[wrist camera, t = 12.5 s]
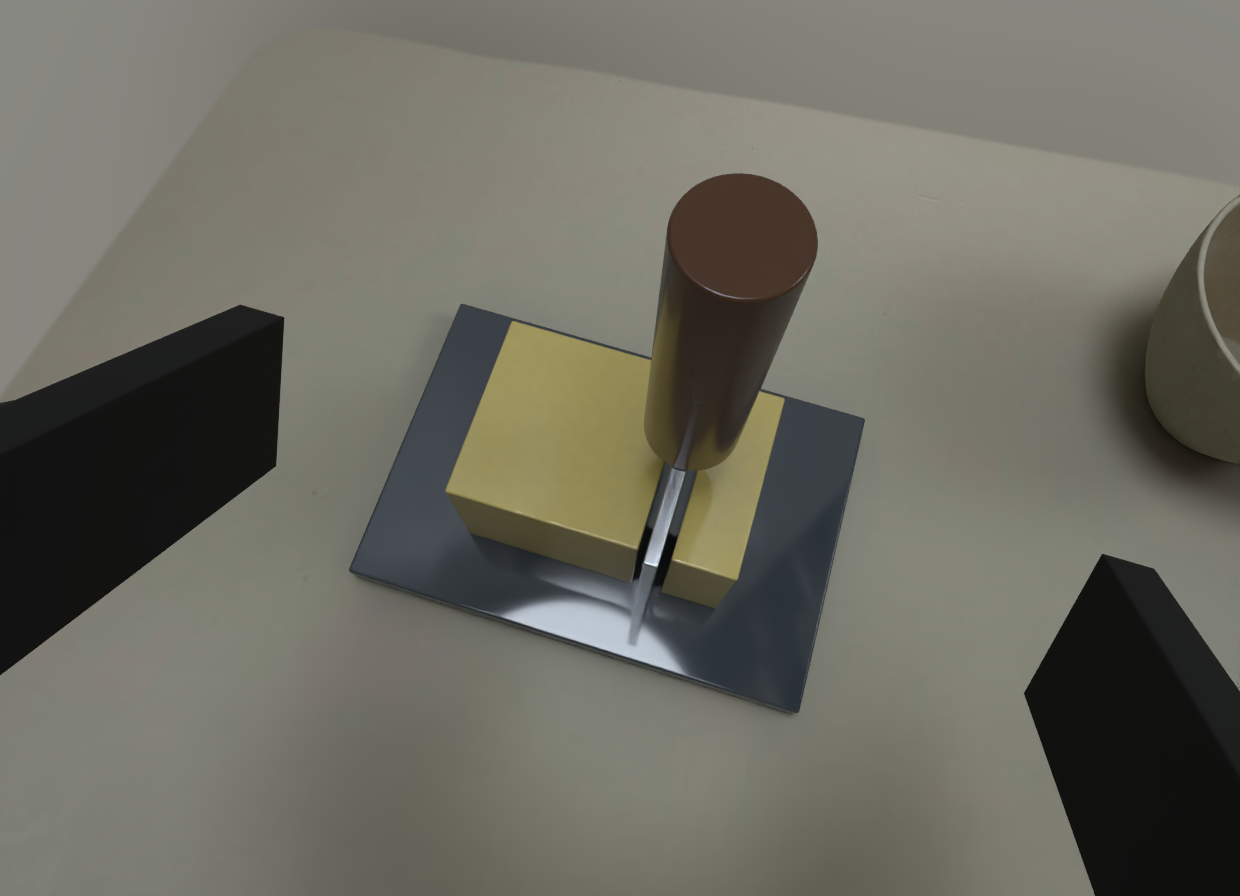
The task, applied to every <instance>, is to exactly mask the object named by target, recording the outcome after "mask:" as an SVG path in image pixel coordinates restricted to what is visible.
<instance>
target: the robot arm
mask: <svg viewBox="0 0 1240 896" xmlns="http://www.w3.org/2000/svg"><path fill="white" fill-rule="evenodd" d="M283 330H284V317H281V316H277V315H274V314H271V313H267V312H264V311H260V310H257V309H253V308H250V307H246V306H243V305H238V306H236V307H234V308H231V309H229V310H227V311H224V312H222V313H220V314H217V315H215V316H212V317H210V318H208V319H205V320H203V321H201V322H198V323H196V324H194V325H191V326H189V327H187V328H184V329H182V330H179V331H177V332H175V333H172V334H170V335H168V336H165V337H163V338H161V339H158V340H156V341H154V342H151V343H149V344H146V345H144V346H142V347H139V348H137V349H135V350H132V351H130V352H128V353H125V354H123V355H120V356H118V357H116V358H113V359H111V360H109V361H106V362H104V363H102V364H99V365H97V366H95V367H92V368H90V369H87V370H85V371H83V372H80V373H78V374H76V375H73V376H71V377H69V378H66V379H64V380H61V381H59V382H57V383H54V384H52V385H50V386H47V387H45V388H43V389H40V390H38V391H36V392H33V393H31V394H28V395H26V396H24V397H21V398H19V399H17V400H13V401H8V402H3V403H0V675H1V674H2V673H4V672H5V671H6V670H8V669H9V668H10V667H12V666H13V665H14V664H16V663H17V662H18V661H20V660H21V659H22V658H24V657H25V656H26V655H28V654H29V653H30V652H31V651H33V650H34V649H35V648H37V647H38V646H39V645H41V644H42V643H43V642H45V641H46V640H47V639H49V638H50V637H51V636H53V635H54V634H55V633H57V632H58V631H59V630H60V629H62V628H63V627H64V626H66V625H67V624H68V623H70V622H71V621H72V620H74V619H75V618H76V617H78V616H79V615H80V614H82V613H83V612H84V611H86V610H87V609H88V608H89V607H91V606H92V605H93V604H95V603H96V602H97V601H99V600H100V599H101V598H103V597H104V596H105V595H107V594H108V593H109V592H111V591H112V590H113V589H115V588H116V587H117V586H118V585H120V584H121V583H122V582H124V581H125V580H126V579H128V578H129V577H130V576H132V575H133V574H134V573H136V572H137V571H138V570H140V569H141V568H142V567H144V566H145V565H146V564H147V563H149V562H150V561H151V560H153V559H154V558H155V557H157V556H158V555H159V554H161V553H162V552H163V551H165V550H166V549H167V548H169V547H170V546H171V545H173V544H174V543H175V542H176V541H178V540H179V539H180V538H182V537H183V536H184V535H186V534H187V533H188V532H190V531H191V530H192V529H194V528H195V527H196V526H198V525H199V524H200V523H202V522H203V521H204V520H206V519H207V518H208V517H209V516H211V515H212V514H213V513H215V512H216V511H217V510H219V509H220V508H221V507H223V506H224V505H225V504H227V503H228V502H229V501H231V500H232V499H233V498H235V497H236V496H237V495H238V494H240V493H241V492H242V491H244V490H245V489H246V488H248V487H249V486H250V485H252V484H253V483H254V482H256V481H257V480H258V479H260V478H261V477H262V476H264V475H265V474H266V473H267V472H269V471H270V470H271V469H273V468H274V467H275V466H276V458H277V440H278V421H279V403H280V385H281V367H282V349H283ZM1024 695H1025V698H1026V700H1027V703H1028V706H1029V709H1030V712H1031V715H1032V717H1033V720H1034V723H1035V726H1036V729H1037V732H1038V734H1039V737H1040V740H1041V743H1042V746H1043V749H1044V752H1045V754H1046V757H1047V760H1048V763H1049V766H1050V769H1051V771H1052V774H1053V777H1054V780H1055V783H1056V786H1057V788H1058V791H1059V794H1060V797H1061V800H1062V803H1063V806H1064V808H1065V811H1066V814H1067V817H1068V820H1069V823H1070V825H1071V828H1072V831H1073V834H1074V837H1075V840H1076V842H1077V845H1078V848H1079V851H1080V854H1081V857H1082V860H1083V862H1084V865H1085V868H1086V871H1087V874H1088V877H1089V879H1090V882H1091V885H1092V888H1093V891H1094V894H1095V896H1240V691H1239V690H1238V688H1237V687H1236V685H1235V684H1234V683H1233V681H1232V680H1231V678H1230V677H1229V675H1228V674H1227V673H1226V671H1225V670H1224V668H1223V667H1222V665H1221V664H1220V663H1219V661H1218V660H1217V658H1216V657H1215V655H1214V654H1213V652H1212V651H1211V650H1210V648H1209V647H1208V645H1207V644H1206V642H1205V641H1204V640H1203V638H1202V637H1201V635H1200V634H1199V632H1198V631H1197V630H1196V628H1195V627H1194V625H1193V624H1192V622H1191V621H1190V620H1189V618H1188V617H1187V615H1186V614H1185V612H1184V611H1183V609H1182V608H1181V607H1180V605H1179V604H1178V602H1177V601H1176V599H1175V598H1174V597H1173V595H1172V594H1171V592H1170V591H1169V589H1168V588H1167V587H1166V585H1165V584H1164V582H1163V581H1162V579H1161V578H1160V577H1159V575H1158V574H1157V572H1156V571H1155V569H1153V568H1150V567H1146V566H1143V565H1139V564H1136V563H1132V562H1129V561H1125V560H1122V559H1118V558H1115V557H1111V556H1108V555H1105V554H1102V555H1101V557H1100V559H1099V561H1098V562H1097V564H1096V566H1095V568H1094V569H1093V571H1092V573H1091V575H1090V577H1089V578H1088V580H1087V582H1086V584H1085V586H1084V587H1083V589H1082V591H1081V593H1080V594H1079V596H1078V598H1077V600H1076V602H1075V603H1074V605H1073V607H1072V609H1071V610H1070V612H1069V614H1068V616H1067V618H1066V619H1065V621H1064V623H1063V625H1062V627H1061V628H1060V630H1059V632H1058V634H1057V635H1056V637H1055V639H1054V641H1053V643H1052V644H1051V646H1050V648H1049V650H1048V651H1047V653H1046V655H1045V657H1044V659H1043V660H1042V662H1041V664H1040V666H1039V668H1038V669H1037V671H1036V673H1035V675H1034V676H1033V678H1032V680H1031V682H1030V684H1029V685H1028V687H1027V689H1026V691H1025V692H1024Z"/></svg>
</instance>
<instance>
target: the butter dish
mask: <svg viewBox="0 0 1240 896" xmlns="http://www.w3.org/2000/svg"><path fill="white" fill-rule="evenodd" d="M650 367H651V358H650V357H647V356H643V355H640V354H636V353H633V352H629V351H626V350H622V349H619V348H615V347H612V346H608V345H605V344H601V343H598V342H594V341H591V340H587V339H584V338H580V337H577V336H573V335H570V334H566V333H563V332H559V331H556V330H552V329H549V328H545V327H542V326H538V325H535V324H531V323H528V322H524V321H521V320H517V319H514V318H510V317H507V316H503V315H500V314H496V313H493V312H489V311H486V310H482V309H479V308H475V307H472V306H468V305H465V304H461V305H460V307H459V309H458V311H457V314H456V316H455V319H454V321H453V323H452V326H451V328H450V331H449V333H448V335H447V338H446V340H445V342H444V345H443V347H442V350H441V352H440V354H439V357H438V359H437V361H436V364H435V366H434V369H433V371H432V373H431V376H430V378H429V380H428V383H427V385H426V388H425V390H424V392H423V395H422V397H421V399H420V402H419V404H418V407H417V409H416V411H415V414H414V416H413V419H412V421H411V423H410V426H409V428H408V430H407V433H406V435H405V438H404V440H403V442H402V445H401V447H400V449H399V452H398V454H397V457H396V459H395V461H394V464H393V466H392V468H391V471H390V473H389V476H388V478H387V480H386V483H385V485H384V487H383V490H382V492H381V495H380V497H379V499H378V502H377V504H376V506H375V509H374V511H373V514H372V516H371V518H370V521H369V523H368V526H367V528H366V530H365V533H364V535H363V537H362V540H361V542H360V545H359V547H358V549H357V552H356V554H355V556H354V559H353V561H352V564H351V566H350V568H349V571H350V572H351V573H352V574H353V575H355V576H356V577H358V578H361V579H365V580H368V581H371V582H374V583H377V584H380V585H384V586H387V587H390V588H393V589H396V590H399V591H403V592H406V593H409V594H412V595H415V596H418V597H422V598H425V599H428V600H431V601H434V602H437V603H440V604H444V605H447V606H450V607H453V608H456V609H459V610H463V611H466V612H469V613H472V614H475V615H478V616H482V617H485V618H488V619H491V620H494V621H497V622H501V623H504V624H507V625H510V626H513V627H516V628H519V629H523V630H526V631H529V632H532V633H535V634H538V635H542V636H545V637H548V638H551V639H554V640H557V641H561V642H564V643H567V644H570V645H573V646H576V647H580V648H583V649H586V650H589V651H592V652H595V653H599V654H602V655H605V656H608V657H611V658H614V659H617V660H621V661H624V662H627V663H630V664H633V665H636V666H640V667H643V668H646V669H649V670H652V671H655V672H659V673H662V674H665V675H668V676H671V677H674V678H678V679H681V680H684V681H687V682H690V683H693V684H697V685H700V686H703V687H706V688H709V689H712V690H715V691H719V692H722V693H725V694H728V695H731V696H734V697H738V698H741V699H744V700H747V701H750V702H753V703H757V704H760V705H763V706H766V707H769V708H772V709H776V710H779V711H782V712H785V713H788V714H796V713H798V712H799V710H800V706H801V701H802V697H803V692H804V688H805V684H806V679H807V675H808V670H809V666H810V661H811V657H812V653H813V648H814V644H815V639H816V635H817V630H818V626H819V621H820V617H821V613H822V608H823V604H824V599H825V595H826V590H827V586H828V582H829V577H830V573H831V568H832V564H833V559H834V555H835V550H836V546H837V542H838V537H839V533H840V528H841V524H842V519H843V515H844V511H845V506H846V502H847V497H848V493H849V488H850V484H851V479H852V475H853V471H854V466H855V462H856V457H857V453H858V448H859V444H860V440H861V435H862V431H863V426H864V422H865V420H864V418H861V417H857V416H854V415H850V414H847V413H843V412H840V411H836V410H833V409H829V408H826V407H822V406H819V405H815V404H812V403H808V402H805V401H801V400H798V399H794V398H791V397H787V396H784V395H780V394H777V393H773V392H770V391H766V390H763V389H760V391H759V394H758V396H757V398H756V401H755V403H754V406H753V408H752V410H751V413H750V415H749V417H748V420H747V422H746V424H745V427H744V429H743V431H742V434H741V436H740V438H739V441H738V443H737V445H736V447H735V449H734V450H733V452H732V453H731V455H730V456H729V457H728V458H727V459H725V460H724V461H723V462H722V463H720V464H718V465H717V466H714V467H712V468H709V469H705V470H699V471H689V470H687V472H686V475H685V479H684V482H683V485H682V489H681V492H680V495H679V499H678V502H677V506H676V509H675V512H674V516H673V519H672V523H671V526H670V529H669V533H668V536H667V539H666V543H665V546H664V550H663V553H662V556H661V560H660V563H659V566H658V570H657V573H656V577H655V580H654V583H653V587H652V590H651V594H650V597H649V600H648V604H647V607H646V610H645V614H644V616H643V617H641V616H638V615H635V614H633V608H634V603H635V598H636V594H637V589H638V584H639V579H640V574H641V569H642V564H643V560H644V557H645V554H646V550H647V547H648V544H649V540H650V537H651V534H652V531H653V527H654V524H655V521H656V517H657V514H658V511H659V507H660V504H661V501H662V497H663V494H664V491H665V488H666V484H667V481H668V478H669V474H670V471H671V468H672V466H671V465H669V464H667V463H666V462H664V461H663V460H661V459H660V458H659V457H658V456H657V455H656V454H655V453H654V452H653V450H652V449H651V447H650V446H649V444H648V441H647V439H646V436H645V432H644V416H645V407H646V399H647V391H648V383H649V375H650Z"/></svg>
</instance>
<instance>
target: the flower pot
mask: <svg viewBox="0 0 1240 896" xmlns="http://www.w3.org/2000/svg"><path fill="white" fill-rule="evenodd" d="M1145 385H1146V394H1147V398H1148V402H1149V404H1150V407H1151V409H1152V411H1153V413H1154V415H1155V416H1156V418H1157V419H1158V421H1159V422H1160V424H1161V425H1162V426H1163V427H1164V429H1165V430H1166V431H1167V432H1168V433H1169V434H1170V435H1172V436H1173V437H1174V438H1175V439H1177V440H1178V441H1179V442H1180V443H1182V444H1183V445H1185V446H1187V447H1189V448H1190V449H1192V450H1195V451H1197V452H1199V453H1202V454H1204V455H1207V456H1210V457H1213V458H1216V459H1220V460H1223V461H1227V462H1231V463H1235V464H1240V195H1239V196H1237V197H1236V198H1235V199H1233V200H1232V201H1231V202H1229V203H1228V204H1227V205H1226V206H1225V207H1224V208H1223V209H1222V210H1221V211H1220V212H1219V213H1218V214H1217V215H1216V217H1215V218H1214V219H1213V220H1212V221H1211V222H1210V224H1209V225H1208V226H1207V227H1206V228H1205V230H1204V231H1203V232H1202V233H1201V234H1200V236H1199V237H1198V239H1197V240H1196V241H1195V243H1194V244H1193V245H1192V247H1191V248H1190V250H1189V251H1188V253H1187V254H1186V256H1185V257H1184V259H1183V260H1182V262H1181V264H1180V265H1179V267H1178V268H1177V270H1176V272H1175V274H1174V275H1173V277H1172V279H1171V281H1170V283H1169V285H1168V287H1167V289H1166V291H1165V293H1164V295H1163V297H1162V299H1161V301H1160V304H1159V306H1158V309H1157V312H1156V315H1155V317H1154V320H1153V324H1152V327H1151V331H1150V335H1149V340H1148V345H1147V351H1146V362H1145Z"/></svg>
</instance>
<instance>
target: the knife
mask: <svg viewBox="0 0 1240 896" xmlns="http://www.w3.org/2000/svg"><path fill="white" fill-rule="evenodd" d="M817 249H818V238H817V231H816V228H815V224H814V221H813V219H812V217H811V214H810V213H809V211H808V209H807V208H806V206H805V205H804V204H803V203H802V201H801V200H800V199H799V198H798V197H797V196H796V195H795V194H794V193H792V192H791V191H790V190H789V189H787V188H786V187H784V186H782V185H781V184H779V183H777V182H775V181H773V180H770V179H767V178H764V177H761V176H757V175H752V174H742V173H741V174H725V175H720V176H716V177H713V178H710V179H707V180H705V181H703V182H701V183H699V184H697V185H696V186H694V187H693V188H692V189H690V190H689V191H688V192H687V193H686V194H685V195H684V196H683V197H682V198H681V199H680V200H679V202H678V203H677V204H676V206H675V208H674V209H673V211H672V214H671V216H670V219H669V223H668V227H667V236H666V244H665V252H664V260H663V268H662V277H661V285H660V293H659V301H658V309H657V317H656V326H655V334H654V342H653V350H652V358H651V367H650V375H649V383H648V391H647V399H646V407H645V416H644V432H645V436H646V439H647V441H648V444H649V446H650V447H651V449H652V450H653V452H654V453H655V454H656V455H657V456H658V457H659V458H660V459H661V460H663V461H664V462H666V463H667V464H669V465H671V466H672V468H671V471H670V474H669V478H668V481H667V484H666V488H665V491H664V494H663V497H662V501H661V504H660V507H659V511H658V514H657V517H656V521H655V524H654V527H653V531H652V534H651V537H650V540H649V544H648V547H647V550H646V554H645V557H644V560H643V564H642V569H641V574H640V579H639V584H638V589H637V594H636V598H635V603H634V608H633V614H635V615H638V616H641V617H643V616H644V614H645V610H646V607H647V604H648V600H649V597H650V594H651V590H652V587H653V583H654V580H655V577H656V573H657V570H658V566H659V563H660V560H661V556H662V553H663V550H664V546H665V543H666V539H667V536H668V533H669V529H670V526H671V523H672V519H673V516H674V512H675V509H676V506H677V502H678V499H679V495H680V492H681V489H682V485H683V482H684V479H685V475H686V472H687V470H689V471H699V470H705V469H709V468H712V467H714V466H717V465H718V464H720V463H722V462H723V461H724V460H725V459H727V458H728V457H729V456H730V455H731V453H732V452H733V450H734V449H735V447H736V445H737V443H738V441H739V438H740V436H741V434H742V431H743V429H744V427H745V424H746V422H747V420H748V417H749V415H750V413H751V410H752V408H753V406H754V403H755V401H756V398H757V396H758V394H759V391H760V389H761V387H762V384H763V382H764V380H765V377H766V375H767V373H768V370H769V368H770V366H771V363H772V361H773V359H774V356H775V354H776V351H777V349H778V347H779V344H780V342H781V340H782V337H783V335H784V333H785V330H786V328H787V326H788V323H789V321H790V319H791V316H792V314H793V312H794V309H795V307H796V304H797V302H798V300H799V297H800V295H801V293H802V290H803V288H804V286H805V283H806V281H807V279H808V276H809V274H810V272H811V269H812V267H813V264H814V262H815V259H816V255H817Z"/></svg>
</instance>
